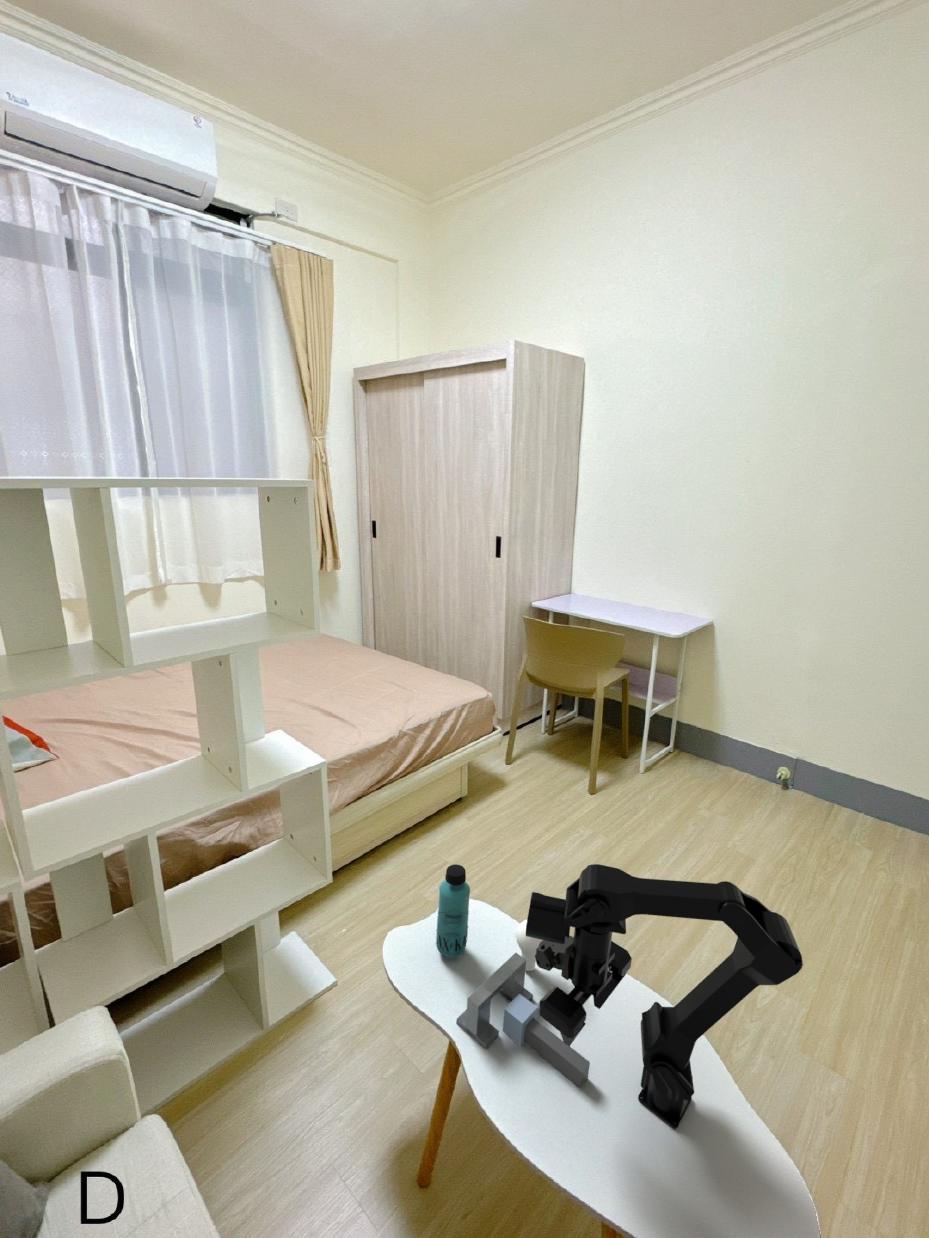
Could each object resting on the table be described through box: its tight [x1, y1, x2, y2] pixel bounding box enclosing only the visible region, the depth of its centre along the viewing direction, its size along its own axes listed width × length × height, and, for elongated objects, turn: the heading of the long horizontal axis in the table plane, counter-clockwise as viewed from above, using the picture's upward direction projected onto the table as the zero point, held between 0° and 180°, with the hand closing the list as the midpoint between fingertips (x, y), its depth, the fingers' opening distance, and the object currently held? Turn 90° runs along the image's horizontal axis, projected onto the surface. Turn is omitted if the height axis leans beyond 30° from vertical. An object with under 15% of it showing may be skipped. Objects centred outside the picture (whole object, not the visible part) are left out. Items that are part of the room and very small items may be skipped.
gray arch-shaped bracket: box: [455, 952, 534, 1050], centre depth 107 cm, size 7×14×8 cm, turn 138°
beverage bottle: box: [435, 863, 471, 958], centre depth 118 cm, size 6×7×20 cm
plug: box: [502, 994, 591, 1090], centre depth 100 cm, size 16×4×5 cm, turn 48°
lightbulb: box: [515, 919, 543, 972], centre depth 116 cm, size 6×6×11 cm
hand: (582, 1024), depth 94 cm, fingers open, 9 cm apart
